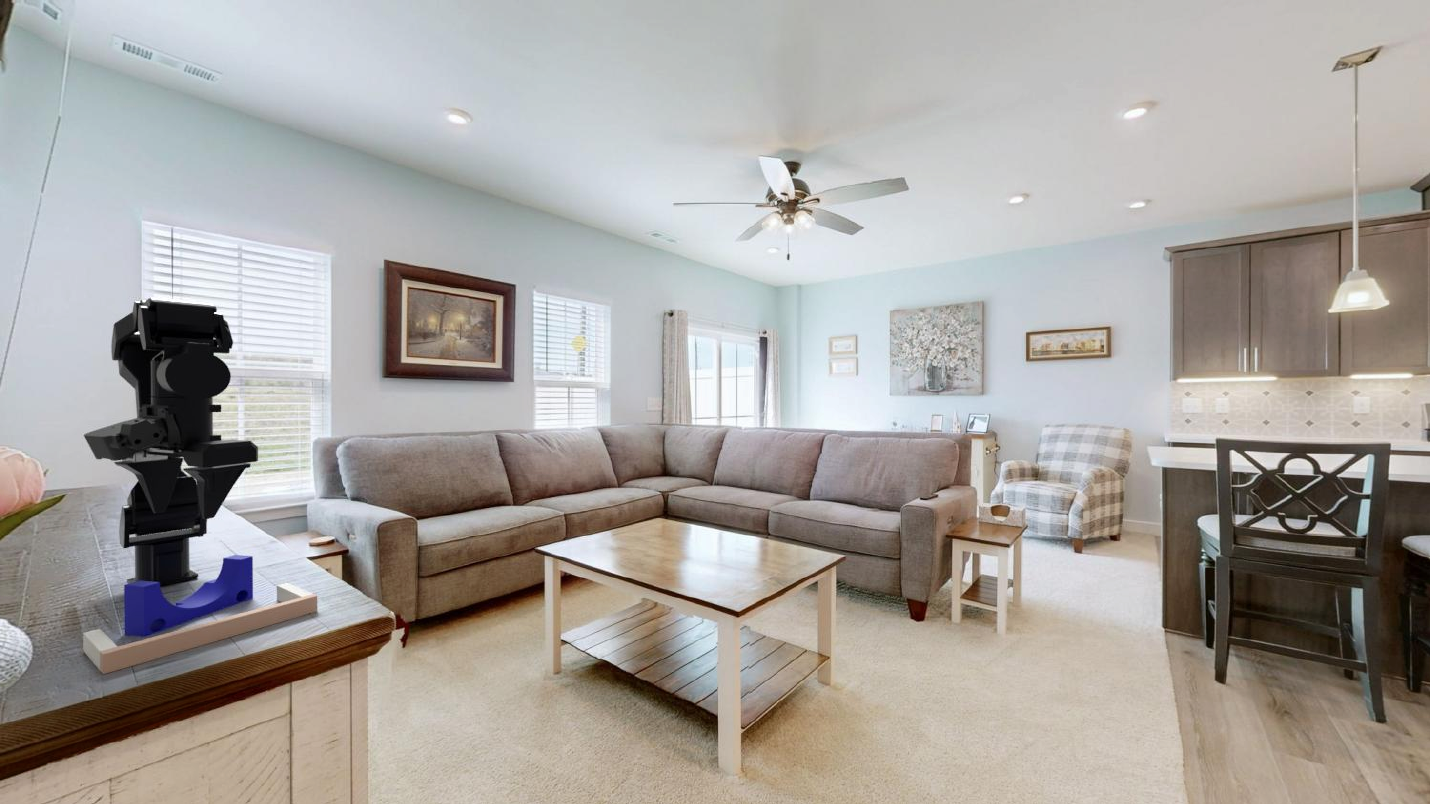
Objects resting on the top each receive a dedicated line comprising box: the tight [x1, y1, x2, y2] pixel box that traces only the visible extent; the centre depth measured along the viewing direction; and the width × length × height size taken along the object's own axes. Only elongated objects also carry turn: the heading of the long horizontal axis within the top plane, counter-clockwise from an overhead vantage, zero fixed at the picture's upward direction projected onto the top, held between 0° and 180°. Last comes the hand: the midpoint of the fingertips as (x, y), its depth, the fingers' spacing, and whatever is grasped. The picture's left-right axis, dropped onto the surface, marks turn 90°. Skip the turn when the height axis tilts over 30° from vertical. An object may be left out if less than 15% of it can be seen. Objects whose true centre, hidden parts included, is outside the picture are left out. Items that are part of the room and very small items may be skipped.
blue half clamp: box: [123, 554, 254, 638], centre depth 68 cm, size 12×4×6 cm, turn 169°
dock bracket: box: [82, 582, 318, 675], centre depth 64 cm, size 9×18×2 cm, turn 148°
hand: (183, 515), depth 70 cm, fingers open, 9 cm apart
